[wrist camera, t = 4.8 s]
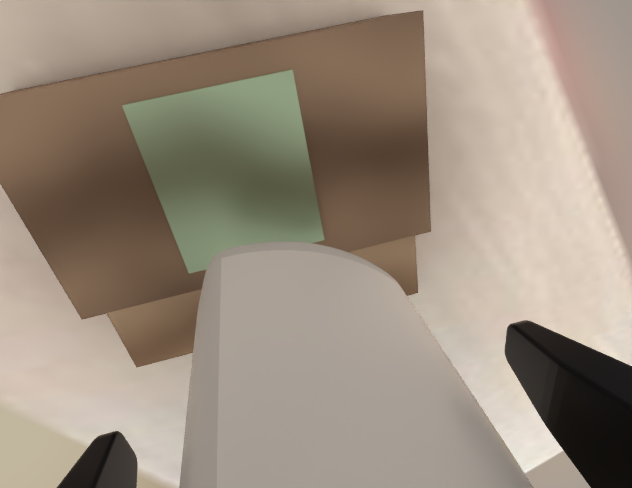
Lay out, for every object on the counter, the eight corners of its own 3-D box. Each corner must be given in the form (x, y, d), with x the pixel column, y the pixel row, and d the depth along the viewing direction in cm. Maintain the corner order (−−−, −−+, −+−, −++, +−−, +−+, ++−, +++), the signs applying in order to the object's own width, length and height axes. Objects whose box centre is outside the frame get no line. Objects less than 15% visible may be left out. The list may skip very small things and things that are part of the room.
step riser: (404, 274, 24) (435, 315, 21) (143, 342, 23) (127, 399, 19) (385, 15, 18) (424, 10, 14) (12, 90, 16) (-50, 106, 13)
